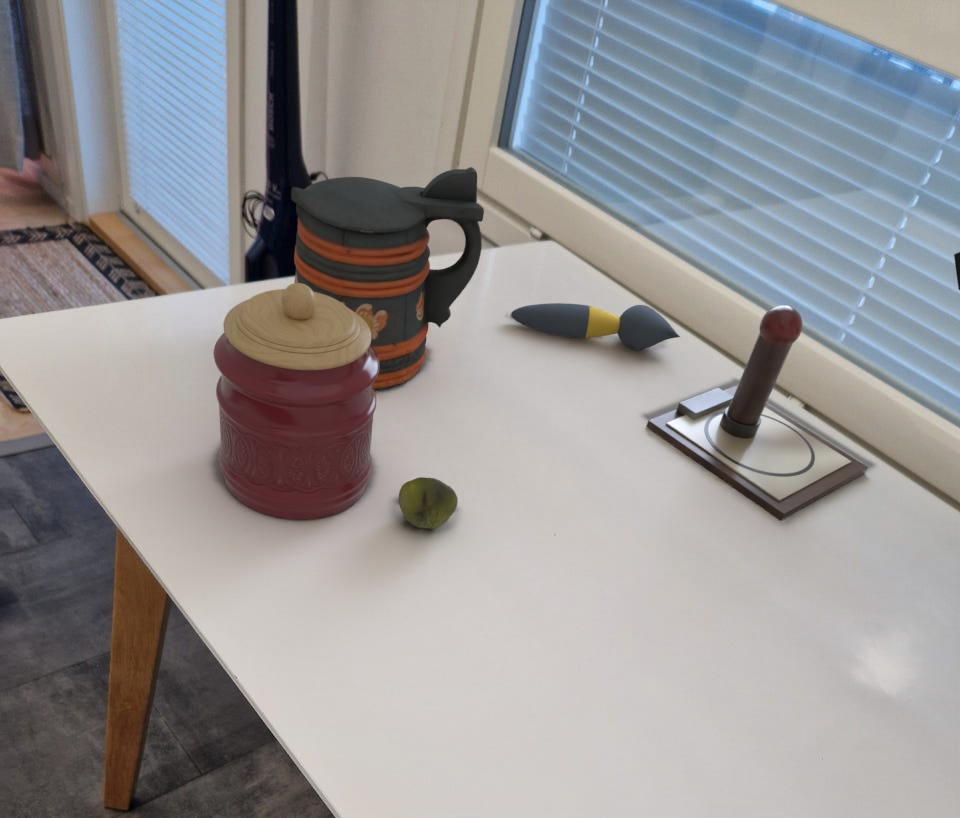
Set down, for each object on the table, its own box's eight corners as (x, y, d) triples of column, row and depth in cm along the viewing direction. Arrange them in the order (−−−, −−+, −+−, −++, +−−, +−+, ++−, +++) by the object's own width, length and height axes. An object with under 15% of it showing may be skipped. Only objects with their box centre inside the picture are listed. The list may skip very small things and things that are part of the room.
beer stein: (445, 325, 104) (472, 138, 90) (476, 394, 94) (511, 197, 80) (278, 319, 98) (278, 120, 84) (293, 392, 89) (296, 181, 75)
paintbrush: (510, 339, 104) (518, 297, 100) (508, 318, 107) (516, 278, 104) (674, 363, 106) (687, 323, 103) (667, 342, 110) (680, 303, 106)
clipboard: (864, 473, 96) (872, 459, 95) (781, 520, 87) (788, 505, 86) (734, 390, 104) (740, 377, 103) (645, 426, 95) (650, 411, 94)
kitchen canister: (377, 523, 77) (396, 333, 65) (221, 524, 74) (209, 323, 61) (361, 436, 86) (375, 253, 73) (220, 433, 82) (209, 241, 70)
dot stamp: (763, 432, 96) (817, 313, 87) (741, 442, 94) (794, 321, 85) (734, 413, 98) (784, 294, 89) (712, 423, 96) (760, 302, 86)
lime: (388, 515, 78) (394, 468, 75) (436, 503, 80) (443, 457, 77) (413, 546, 76) (420, 499, 72) (461, 533, 78) (470, 486, 75)
